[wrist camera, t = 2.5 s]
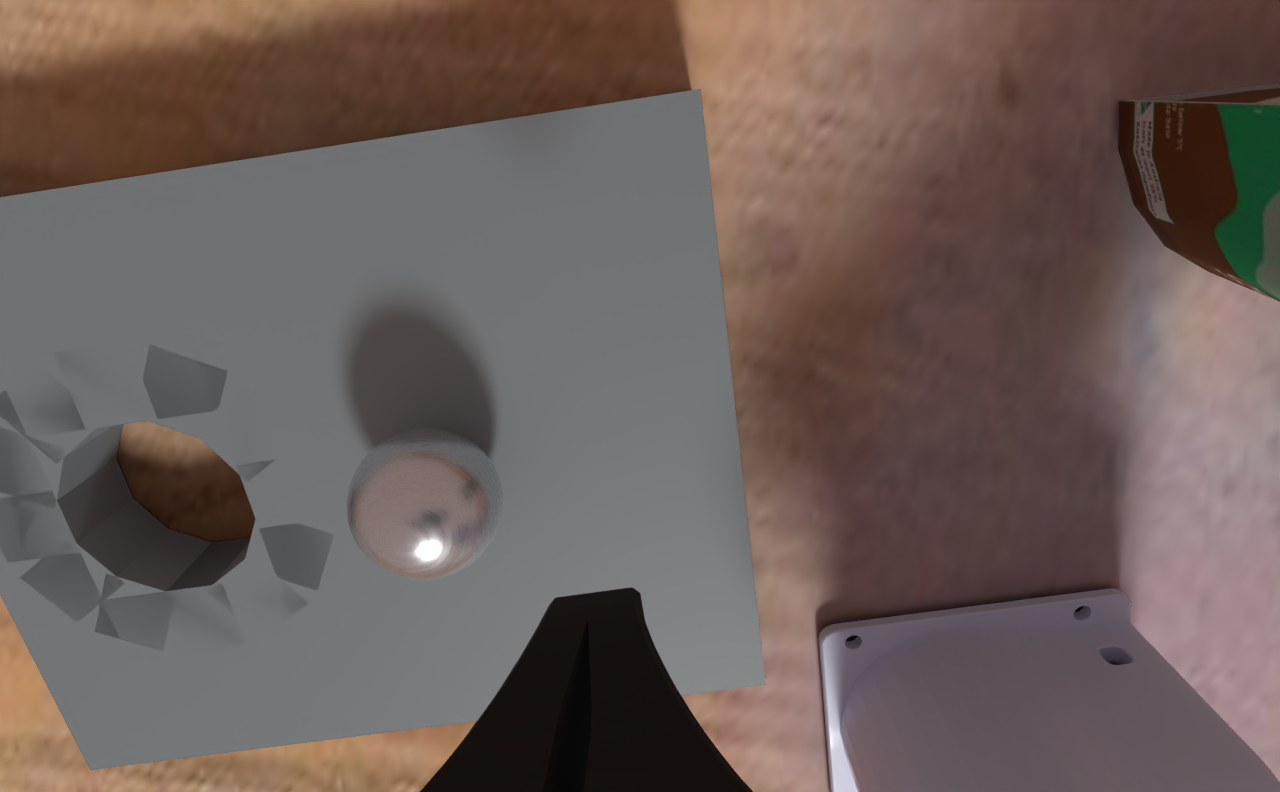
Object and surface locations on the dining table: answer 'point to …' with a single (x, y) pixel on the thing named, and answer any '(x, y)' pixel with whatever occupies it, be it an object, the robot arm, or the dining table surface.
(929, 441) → the dining table surface
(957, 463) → the dining table surface
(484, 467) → the ball
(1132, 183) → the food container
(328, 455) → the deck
